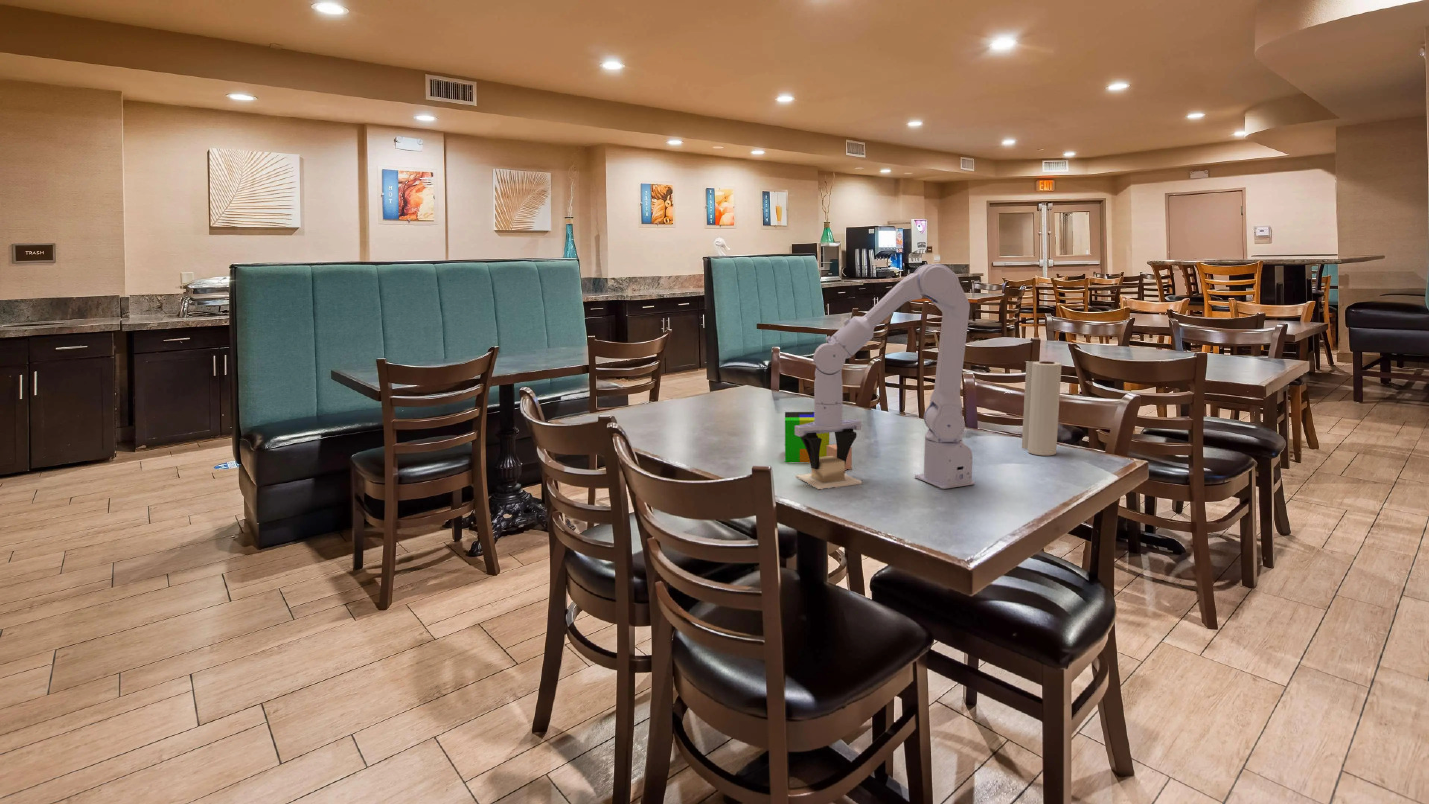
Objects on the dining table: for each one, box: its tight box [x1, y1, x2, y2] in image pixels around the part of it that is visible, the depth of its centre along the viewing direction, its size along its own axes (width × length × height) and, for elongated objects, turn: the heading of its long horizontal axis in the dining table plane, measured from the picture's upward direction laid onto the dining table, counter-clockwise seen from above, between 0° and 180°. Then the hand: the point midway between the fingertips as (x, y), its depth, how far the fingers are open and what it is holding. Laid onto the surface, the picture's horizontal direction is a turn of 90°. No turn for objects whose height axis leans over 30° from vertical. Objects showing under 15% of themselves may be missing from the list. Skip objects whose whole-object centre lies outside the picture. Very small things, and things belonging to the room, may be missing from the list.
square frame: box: [795, 472, 863, 490], centre depth 153 cm, size 10×10×1 cm
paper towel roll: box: [1021, 360, 1063, 456], centre depth 169 cm, size 7×6×21 cm
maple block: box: [811, 456, 846, 483], centre depth 152 cm, size 5×5×4 cm
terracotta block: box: [827, 443, 853, 471], centre depth 162 cm, size 4×4×5 cm
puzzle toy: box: [784, 411, 830, 463], centre depth 171 cm, size 10×10×10 cm
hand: (828, 466), depth 152 cm, fingers open, 6 cm apart
